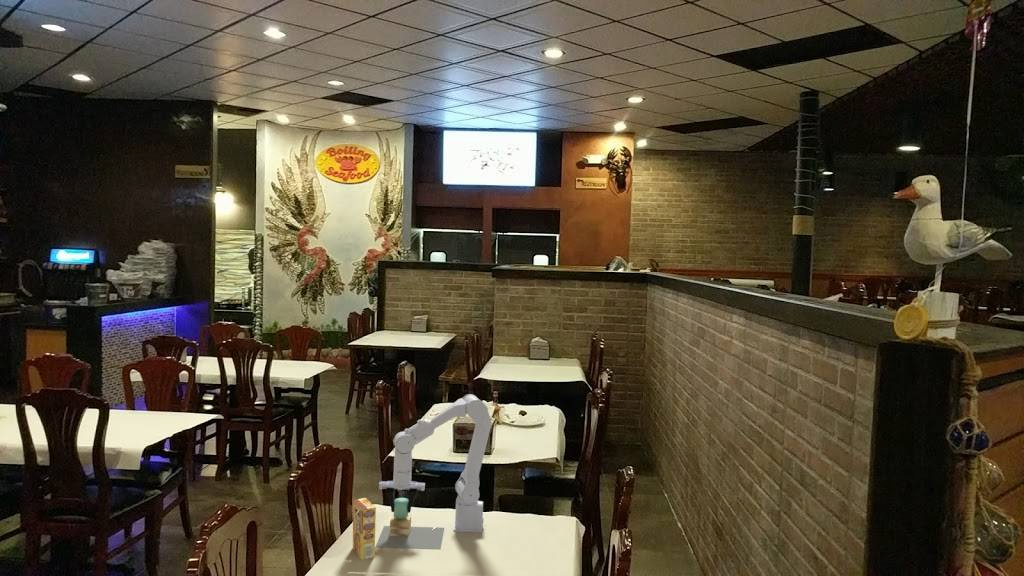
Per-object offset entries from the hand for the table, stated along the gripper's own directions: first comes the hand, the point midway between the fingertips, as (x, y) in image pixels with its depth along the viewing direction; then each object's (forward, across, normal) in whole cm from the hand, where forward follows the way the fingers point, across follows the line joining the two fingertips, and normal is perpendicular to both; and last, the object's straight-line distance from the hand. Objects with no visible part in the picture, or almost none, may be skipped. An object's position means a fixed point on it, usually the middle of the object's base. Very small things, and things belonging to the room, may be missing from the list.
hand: (401, 511), depth 206 cm
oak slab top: (+5, 0, 0) cm, 5 cm away
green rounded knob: (+1, 0, 0) cm, 1 cm away
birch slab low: (+7, 0, 0) cm, 7 cm away
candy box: (+7, -9, -15) cm, 19 cm away
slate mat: (+7, +4, -4) cm, 9 cm away
